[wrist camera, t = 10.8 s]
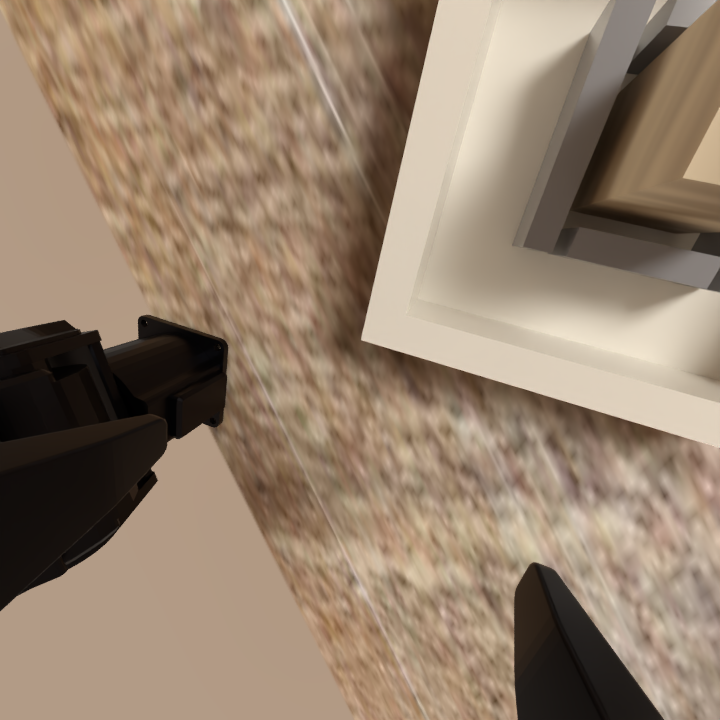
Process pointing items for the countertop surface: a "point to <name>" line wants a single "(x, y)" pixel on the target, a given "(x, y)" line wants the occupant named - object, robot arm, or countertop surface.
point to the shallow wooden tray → (545, 220)
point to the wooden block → (663, 141)
